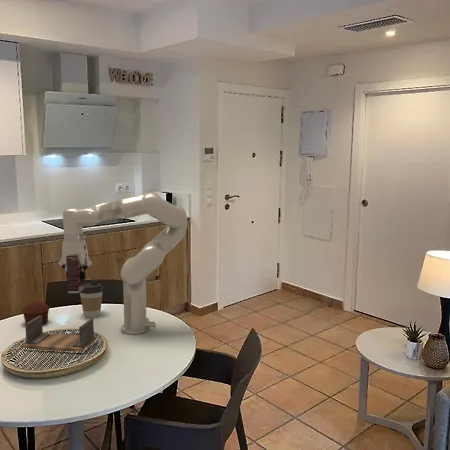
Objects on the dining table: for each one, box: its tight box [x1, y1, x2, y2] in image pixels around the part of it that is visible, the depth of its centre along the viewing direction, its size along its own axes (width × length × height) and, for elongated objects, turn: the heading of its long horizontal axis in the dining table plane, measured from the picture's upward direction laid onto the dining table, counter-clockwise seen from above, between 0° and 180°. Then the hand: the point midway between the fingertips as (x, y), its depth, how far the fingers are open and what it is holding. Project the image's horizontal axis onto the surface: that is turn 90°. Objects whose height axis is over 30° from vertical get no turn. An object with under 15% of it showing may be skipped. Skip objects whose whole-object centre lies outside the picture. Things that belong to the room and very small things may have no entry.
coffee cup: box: [79, 282, 105, 319], centre depth 221 cm, size 11×11×15 cm
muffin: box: [21, 300, 50, 327], centre depth 211 cm, size 12×11×10 cm
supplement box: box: [66, 255, 86, 294], centre depth 199 cm, size 9×5×16 cm, turn 179°
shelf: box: [23, 316, 98, 351], centre depth 186 cm, size 24×13×10 cm, turn 82°
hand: (76, 279), depth 200 cm, fingers closed on supplement box, 5 cm apart
